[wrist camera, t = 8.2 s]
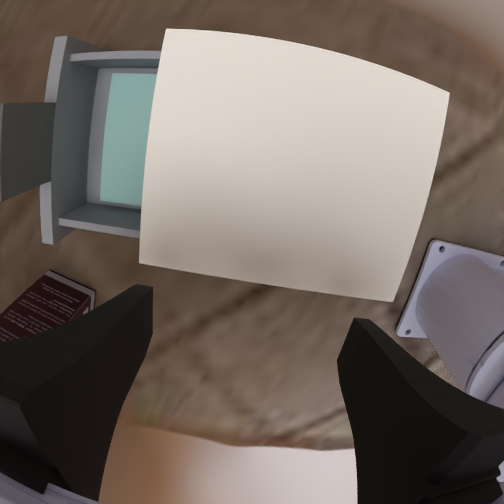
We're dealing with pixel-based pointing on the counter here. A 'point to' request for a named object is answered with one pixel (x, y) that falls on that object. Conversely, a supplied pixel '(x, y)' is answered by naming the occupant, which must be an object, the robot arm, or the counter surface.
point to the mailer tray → (83, 140)
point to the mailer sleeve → (286, 164)
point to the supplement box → (45, 307)
